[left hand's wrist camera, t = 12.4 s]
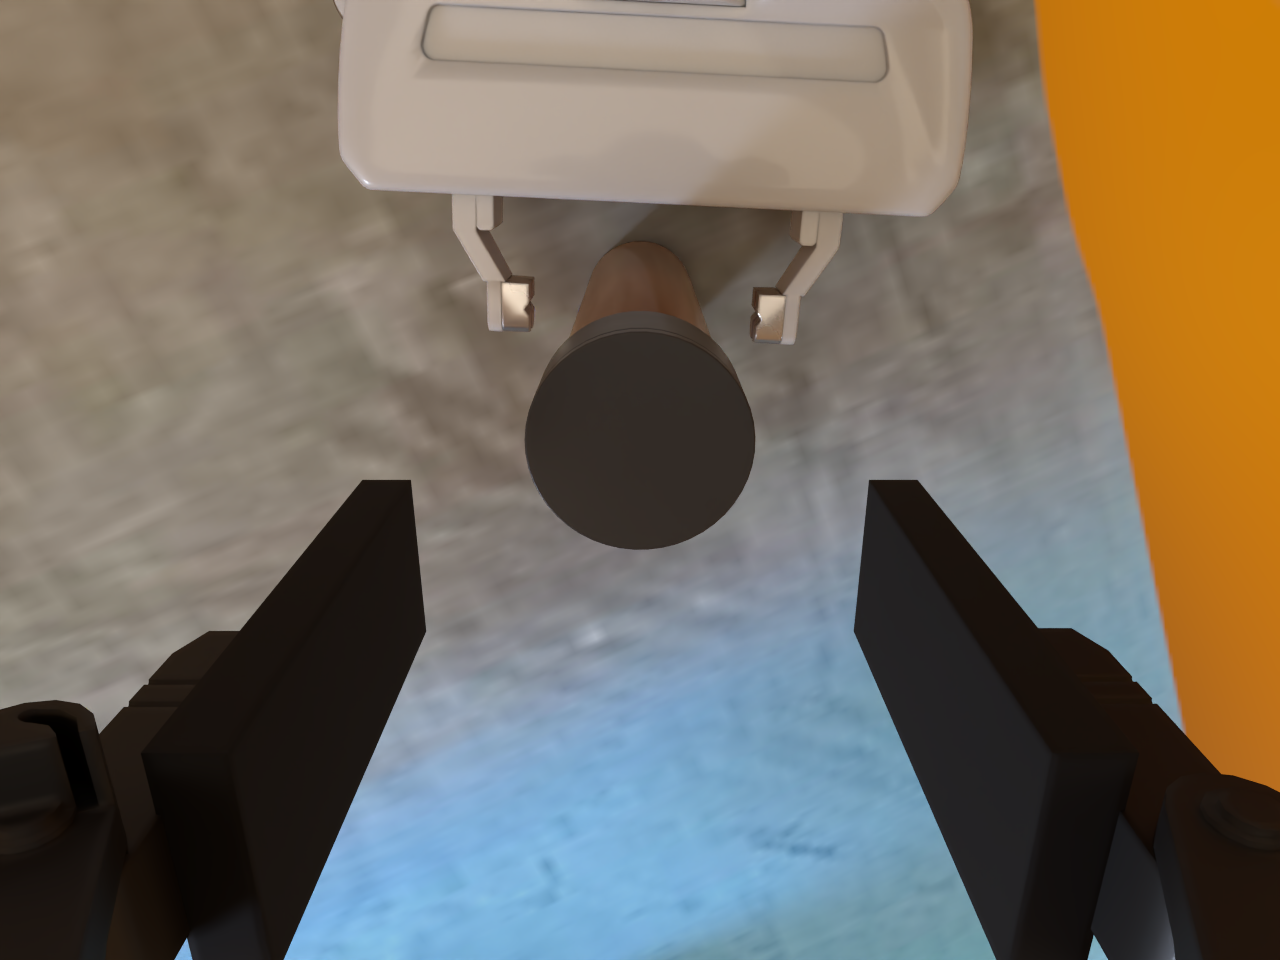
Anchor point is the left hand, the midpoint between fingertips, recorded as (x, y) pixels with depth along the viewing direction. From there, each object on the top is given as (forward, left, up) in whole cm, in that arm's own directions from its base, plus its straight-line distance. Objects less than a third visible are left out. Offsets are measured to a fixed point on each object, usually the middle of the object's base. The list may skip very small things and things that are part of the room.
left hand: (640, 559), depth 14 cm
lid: (0, 0, -6) cm, 6 cm away
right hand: (0, 0, -19) cm, 19 cm away
